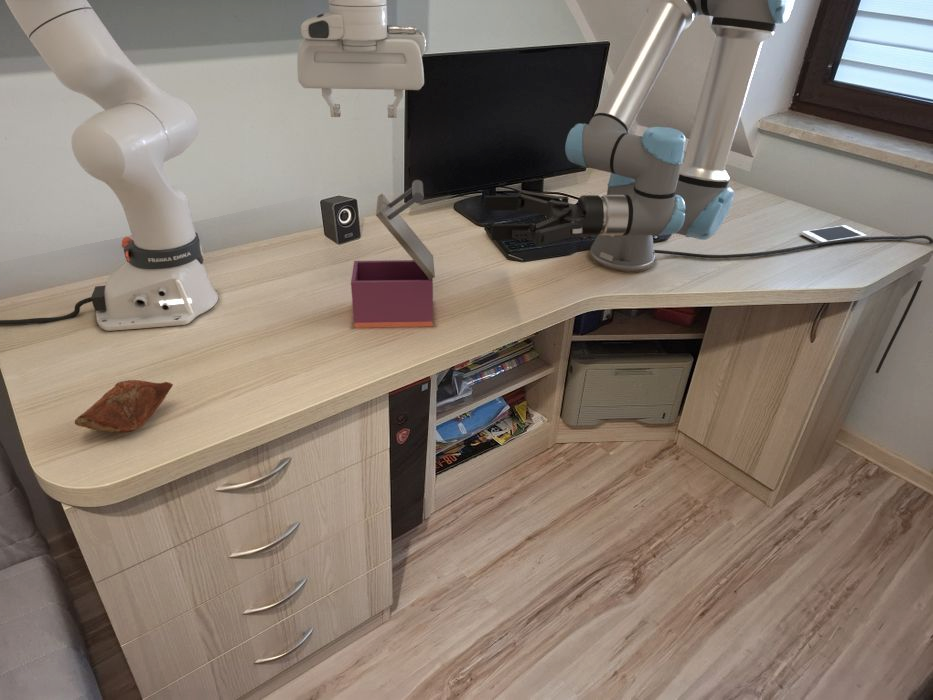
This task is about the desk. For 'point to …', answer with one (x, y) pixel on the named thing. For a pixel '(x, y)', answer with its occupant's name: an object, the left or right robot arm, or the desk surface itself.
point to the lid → (406, 227)
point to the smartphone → (832, 234)
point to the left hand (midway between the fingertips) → (364, 116)
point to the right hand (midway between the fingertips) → (487, 216)
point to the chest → (391, 294)
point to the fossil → (125, 406)
